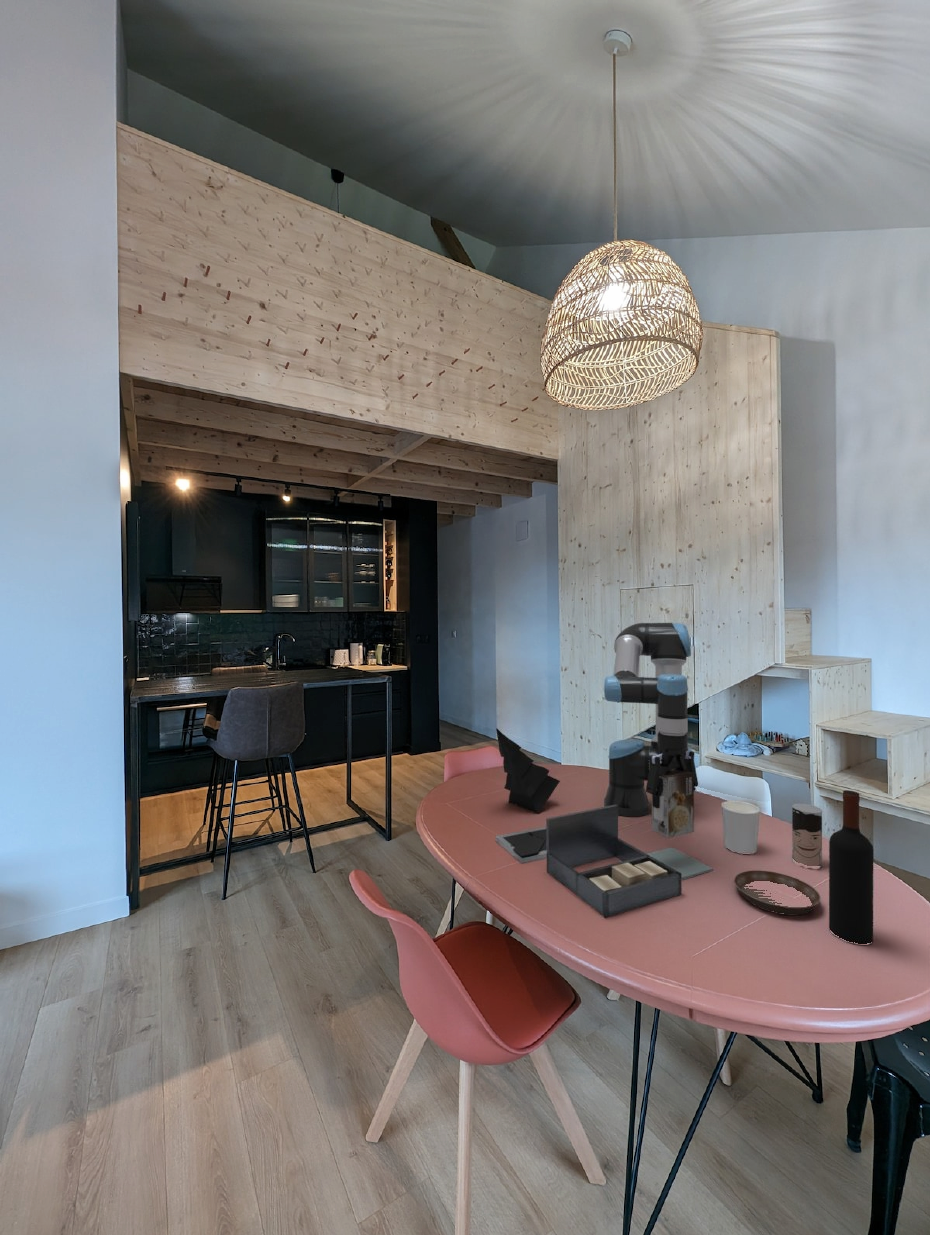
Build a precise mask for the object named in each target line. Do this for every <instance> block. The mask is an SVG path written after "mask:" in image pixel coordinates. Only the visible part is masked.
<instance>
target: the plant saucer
mask: <svg viewBox="0 0 930 1235" xmlns="http://www.w3.org/2000/svg"><path fill="white" fill-rule="evenodd" d="M754 881H770V882H773V883H777V884H785V885H787V886H788V887H793V888H795V889H796V890H797V891H800V892H802V894H804V895H806V897H809V899H810V901H811V903H812V905H811V906H807V907H788V906H780V905H775V903H777V902H773V903H772V902H769V901H775V900H772V899H768V898H759V897H771V896H763V895H758V894H765V893H763V892H754V891H765V890H757V889H749V888H746V889H745V888H744V887H748V886H745V885H746V884H750V883H751V882H754ZM733 883H734V886H735V887H736V888H737V890H738V892H739V893H740V894H741V895H742V896H743V897H744V899H745V900H747V901H748V902H749V901H750V902H749V903H751V904H752V905H754V904H755V905H754V906H756V907H758V908H760V909H762V908H763V909H762V910H765V909H766V910H765V911H767V910H769V911H768V912H771V911H774V912H777V913H776V914H779V913H784V914H783V915H785V914H794V915H793V916H798V914H801V915H805V914H807V912H808V913H809V912H811V911H813V910H814V909H815V908H816V907H817V906H818V905H819V903H820V902H821V896H820V893H819V892H818V891H817V889H815V888H814V886H811V885H810V884H808V883H807V882H806V881H804V880H801V879H799V878H796V877H793V876H791V875H787V874H784V873H779V872H775V871H769V870H761V869H760V870H759V869H757V870H755V869H754V870H753V869H752V870H747V871H741V872H739V873H737V874H736V875H735V876H734V878H733ZM749 887H753V886H749ZM766 891H767V890H766ZM770 894H771V893H770ZM777 904H782V903H777ZM774 912H773V913H774ZM804 913H805V914H804ZM795 914H797V915H795Z"/></svg>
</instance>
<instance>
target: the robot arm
mask: <svg viewBox="0 0 930 1235" xmlns="http://www.w3.org/2000/svg"><path fill="white" fill-rule="evenodd" d="M691 649H692V648H691V640H690V634H689V630H688V627H687V626H686V624H685V623H681V622H680V623H679V622H638V623H633V624H632V625H631V624H630V625H629V626H628V627H625V628H624V629H623V630H621V631H620V632H619V633H618V635H617V636H616V638H615V640H614V644H613V651H614V653H615V658H614V665H613V666H614V667H613V674H612V675H609V676H608V675H607V676H606V677H604V684H603V686H604V687H603V689H604V690H603V691H604V692H603V693H604V699H605V700H606V701H607V702H613V703H620V704H621V703H629V704H630V703H631V704H632V703H633V704H648V705H655V735H654V737H653V738H651V740H650V745H646V744H645V742H644V741H643V740H641V739H636V738H629V739H628V738H626V739H620V740H617V741H613V742H612V743H611V744H610V745H609V749H608V751H609V752H608V756H607V757H608V770H609V771H608V772H609V773H608V774H609V775H608V787H607V791H606V794H605V797H604V800H603V807H606V806H611V805H618V816H622V817H631V818H632V817H635V818H636V817H642V816H643V817H644V816H647V815H648V814H649V813H650V812H651V806H652V805H653V807H654V818H655V819H657V820H659V821H664V796H662V795H661V794H662V791H663V779H661V778H659V773H660V774H663V775H668V774H669V773H670V772H671V770H672V769H673V768H676V769H677V770H680V771H683V772H684V771H689V772H692V773H694V774H693V777H694V792H695V791H696V790H697V788H696V787H698V786H699V781H698V776H697V770H696V765H695V751H693V749H692V748H691V747H688V746H689V744H688V738H689V737H688V735H687V733H688V730H689V729H688V728H689V727H688V720H689V719H688V692H689V687H688V678H687V677H686V676H685V675H683V666H684V665H685V664H686V663H687V658H689V657H691V656H692V650H691ZM641 656H645V657H647V656H649V657H650V662H651V663H652V664H653V665H654V666H655V675H654V676H655V677H647V676H645V677H644V676H641V677H640V657H641ZM645 781H647V782H646V787H645ZM656 790H658V791H656ZM647 794H650V795H651V804H650V802H649V799H648V795H647ZM650 805H651V806H650Z"/></svg>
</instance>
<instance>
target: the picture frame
mask: <svg viewBox="0 0 930 1235" xmlns="http://www.w3.org/2000/svg"><path fill="white" fill-rule="evenodd" d="M495 842H496V843H497V842H498V845H499V846H501V847H502V848H503V849H504V850H505V851H506V852H508V853H509V854H510V855H511V856H512V857H513V858H515V859H516V860H517V861H518V862H519V863H521V864H527V863H531V862H535V861H540V860H544V859H545V860H546V859H547V836H546V826H541V827H536V828H532V829H527V830H521V831H516V832H511V833H505V834H500V835H495Z"/></svg>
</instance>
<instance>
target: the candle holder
mask: <svg viewBox="0 0 930 1235" xmlns="http://www.w3.org/2000/svg"><path fill="white" fill-rule="evenodd" d="M760 812H761V809H760V808H759V807H758V806H757V805H755V804H752V803H749V802H745V801H740V800H739V801H738V800H728V801H722V803H721V817H722V834H723V835H722V836H723V845H724V847H726V848H728V849H730V850H731V851H734V852H737V853H753V852H755V851H756V850H757V851H758V838H759V825H760ZM726 848H725V849H726ZM728 849H727V850H728ZM731 851H730V852H731ZM757 851H756V852H757ZM734 852H733V853H734ZM737 853H736V854H737Z"/></svg>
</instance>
